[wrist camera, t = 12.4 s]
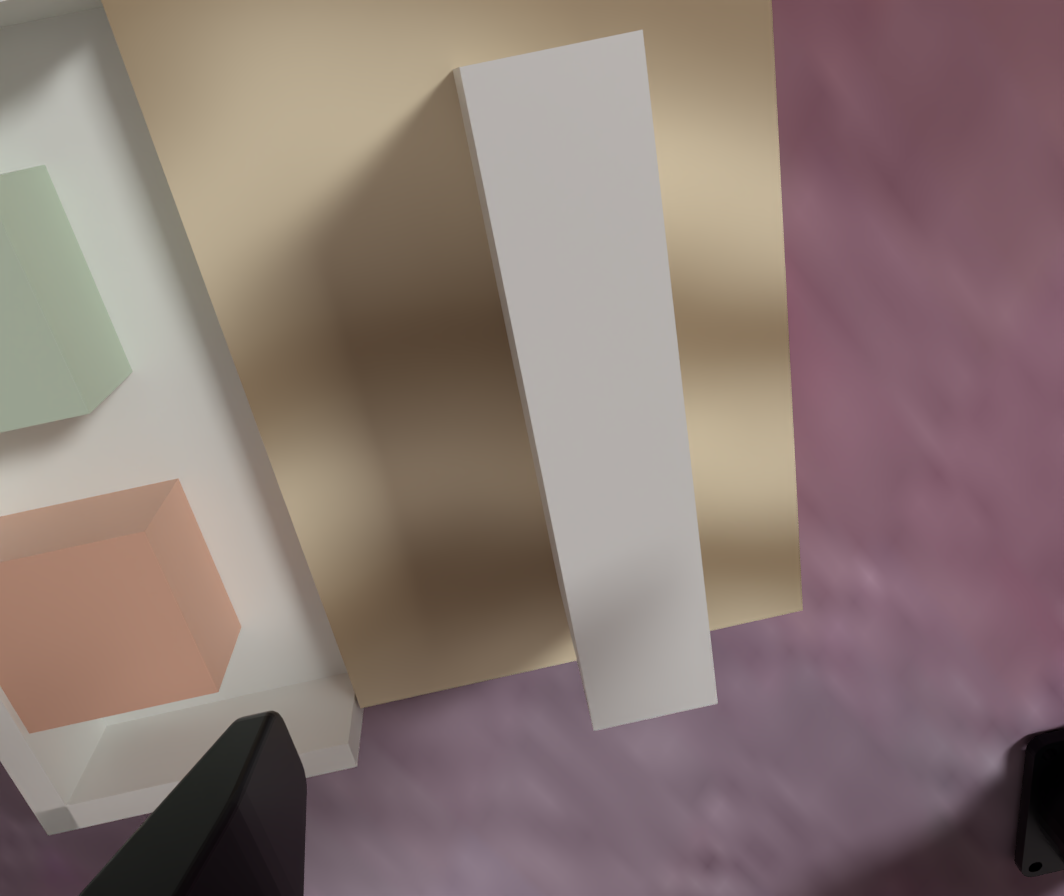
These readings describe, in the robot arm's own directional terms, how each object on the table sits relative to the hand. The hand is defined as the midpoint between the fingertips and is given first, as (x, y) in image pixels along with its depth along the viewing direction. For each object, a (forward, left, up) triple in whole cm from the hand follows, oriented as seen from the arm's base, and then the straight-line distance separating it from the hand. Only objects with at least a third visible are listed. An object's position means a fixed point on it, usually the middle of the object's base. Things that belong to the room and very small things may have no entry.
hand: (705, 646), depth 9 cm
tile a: (-4, +12, -12) cm, 17 cm away
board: (0, +1, -12) cm, 12 cm away
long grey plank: (0, 0, -10) cm, 10 cm away
